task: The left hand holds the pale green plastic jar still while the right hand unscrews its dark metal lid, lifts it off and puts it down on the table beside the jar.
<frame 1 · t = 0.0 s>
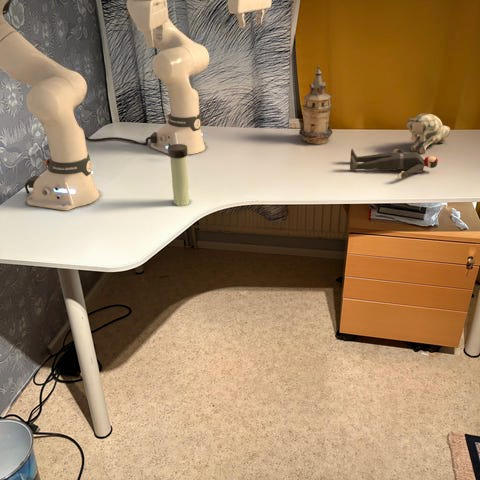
left hand: (155, 44, 147), 48 cm above the table, tool pointing down, fingers open, 8 cm apart
right hand: (250, 25, 175), 48 cm above the table, tool pointing down, fingers open, 8 cm apart
figurine: (426, 147, 211), on the table
miniature building: (315, 140, 221), on the table
toy: (392, 169, 192), on the table
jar: (181, 202, 170), on the table
lid: (177, 148, 161), point 18 cm above the table, screwed on, not yet turned
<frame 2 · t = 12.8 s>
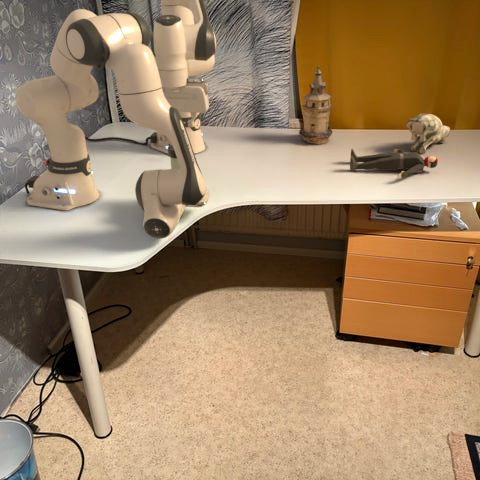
left hand: (180, 184, 168), 6 cm above the table, tool horizontal, fingers closed on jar, 5 cm apart
right hand: (175, 125, 158), 25 cm above the table, tool pointing down, fingers open, 8 cm apart
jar: (181, 202, 170), on the table, touching left hand
everything else where it was.
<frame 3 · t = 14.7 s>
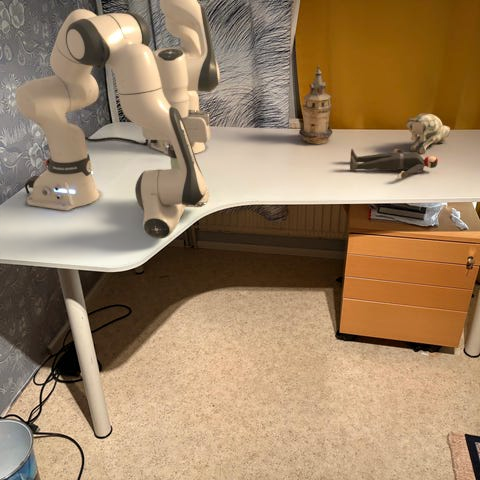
left hand: (180, 184, 168), 6 cm above the table, tool horizontal, fingers closed on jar, 5 cm apart
right hand: (177, 154, 162), 16 cm above the table, tool pointing down, fingers closed on lid, 5 cm apart
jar: (181, 202, 170), on the table, touching left hand
lid: (177, 148, 161), point 18 cm above the table, screwed on, not yet turned, touching right hand
everything else where it was.
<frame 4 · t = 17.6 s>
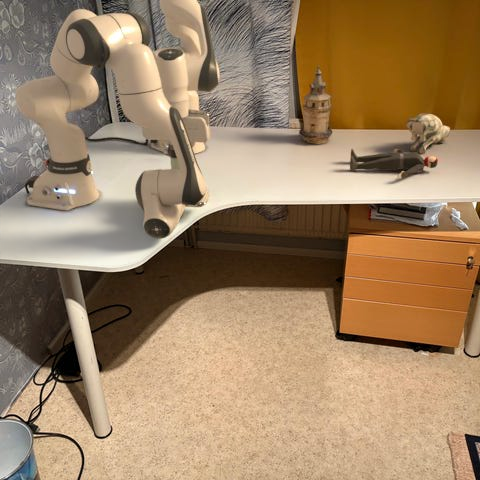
left hand: (180, 184, 168), 6 cm above the table, tool horizontal, fingers closed on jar, 5 cm apart
right hand: (177, 154, 162), 16 cm above the table, tool pointing down, fingers closed on lid, 6 cm apart
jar: (181, 202, 170), on the table, touching left hand
lid: (177, 148, 161), point 18 cm above the table, turned 73° so far, risen 0.1 cm, still on its thread, touching right hand
everything else where it was.
when the right hand's fingers open (2 cm above the table, at t = 33.3 s): lid drops 2 cm, point 2 cm above the table.
when the left hand's fingers open (6 cm above the table, at t = 34.3 s): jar stays where it is, on the table.
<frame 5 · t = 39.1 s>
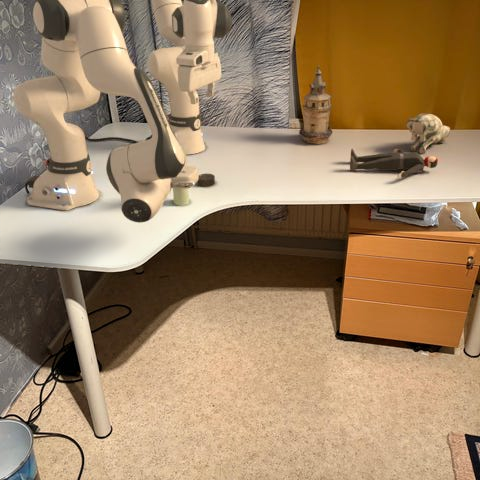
left hand: (167, 164, 150), 18 cm above the table, tool horizontal, fingers open, 8 cm apart
right hand: (202, 100, 169), 29 cm above the table, tool pointing down, fingers open, 8 cm apart
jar: (181, 202, 170), on the table
lid: (206, 177, 182), point 2 cm above the table, off its thread
everything else where it was.
at the end: lid came off its thread; lid point 2.1 cm above the table; the left hand is holding nothing; the right hand is holding nothing; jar tilted 0°; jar moved 0.1 cm from its start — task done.
